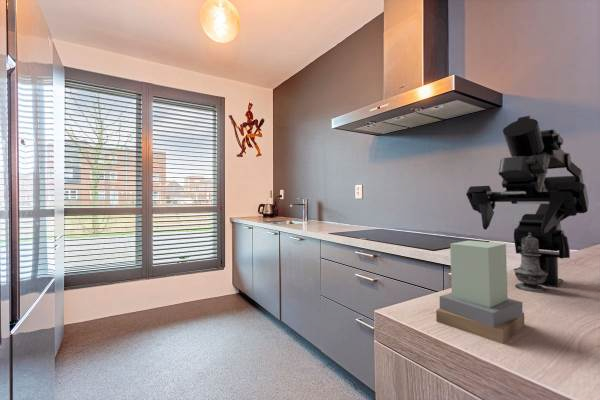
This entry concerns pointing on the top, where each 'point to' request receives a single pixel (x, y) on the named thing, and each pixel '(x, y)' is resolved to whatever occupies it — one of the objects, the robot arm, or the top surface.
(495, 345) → the top surface
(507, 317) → the charcoal top slab
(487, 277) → the sage green block
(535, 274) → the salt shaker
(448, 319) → the walnut base slab
